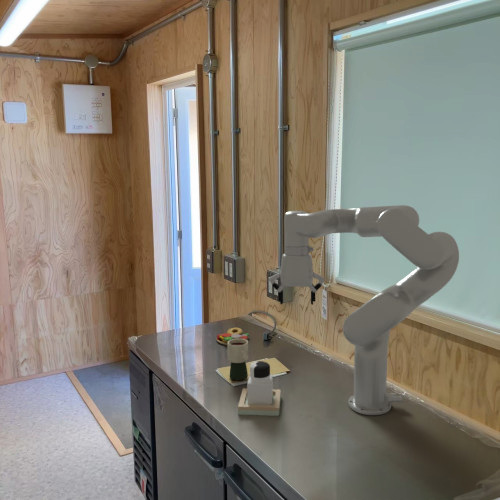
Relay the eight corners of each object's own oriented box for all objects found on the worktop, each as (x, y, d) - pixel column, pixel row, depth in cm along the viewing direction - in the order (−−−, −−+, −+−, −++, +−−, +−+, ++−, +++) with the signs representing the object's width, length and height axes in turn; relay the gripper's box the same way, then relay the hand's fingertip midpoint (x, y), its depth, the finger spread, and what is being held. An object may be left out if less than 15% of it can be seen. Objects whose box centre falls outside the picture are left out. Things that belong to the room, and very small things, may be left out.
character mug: (255, 382, 177) (254, 345, 174) (235, 386, 174) (234, 349, 171) (241, 370, 186) (240, 335, 184) (223, 374, 183) (221, 338, 181)
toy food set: (237, 333, 225) (237, 325, 224) (255, 341, 214) (255, 334, 214) (210, 339, 218) (210, 332, 217) (227, 349, 207) (227, 341, 206)
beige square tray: (280, 396, 166) (280, 389, 165) (278, 415, 154) (278, 407, 153) (242, 395, 167) (242, 388, 166) (238, 414, 155) (238, 406, 155)
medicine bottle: (273, 395, 163) (272, 359, 161) (271, 406, 156) (270, 368, 154) (250, 395, 164) (249, 358, 162) (247, 405, 157) (246, 368, 155)
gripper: (324, 248, 167) (323, 300, 170) (269, 248, 169) (270, 299, 172) (325, 253, 160) (324, 307, 163) (268, 253, 162) (268, 306, 165)
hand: (296, 303), depth 168 cm, fingers open, 9 cm apart
